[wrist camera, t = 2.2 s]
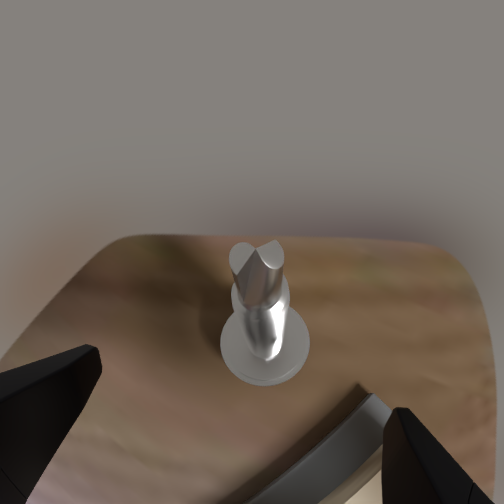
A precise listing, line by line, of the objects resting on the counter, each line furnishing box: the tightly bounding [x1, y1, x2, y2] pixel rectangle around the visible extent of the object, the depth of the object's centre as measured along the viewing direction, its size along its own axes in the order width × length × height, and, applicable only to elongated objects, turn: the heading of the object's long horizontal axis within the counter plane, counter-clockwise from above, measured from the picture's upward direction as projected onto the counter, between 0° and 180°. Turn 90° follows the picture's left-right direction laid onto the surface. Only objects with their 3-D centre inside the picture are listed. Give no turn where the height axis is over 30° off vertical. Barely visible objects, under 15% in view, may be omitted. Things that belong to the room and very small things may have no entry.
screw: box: [220, 240, 310, 386], centre depth 13 cm, size 13×5×5 cm
